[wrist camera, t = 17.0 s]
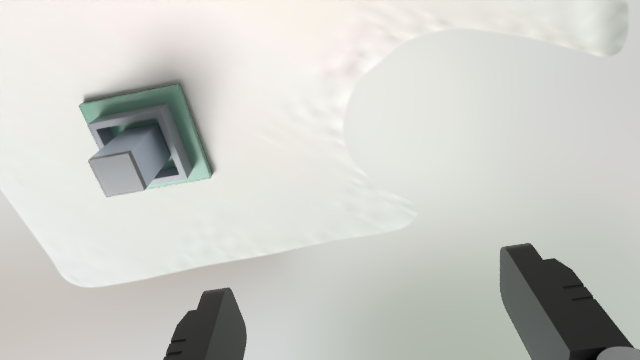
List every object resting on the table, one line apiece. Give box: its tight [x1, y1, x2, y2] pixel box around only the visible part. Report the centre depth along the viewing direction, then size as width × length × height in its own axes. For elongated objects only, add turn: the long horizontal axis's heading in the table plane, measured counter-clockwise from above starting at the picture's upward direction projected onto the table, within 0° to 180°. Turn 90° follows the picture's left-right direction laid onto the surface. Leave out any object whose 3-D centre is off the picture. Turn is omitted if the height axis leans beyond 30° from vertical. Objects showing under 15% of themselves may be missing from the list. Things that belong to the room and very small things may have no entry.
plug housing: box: [88, 124, 170, 197], centre depth 39 cm, size 4×4×7 cm
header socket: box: [79, 84, 212, 190], centre depth 41 cm, size 10×10×3 cm
